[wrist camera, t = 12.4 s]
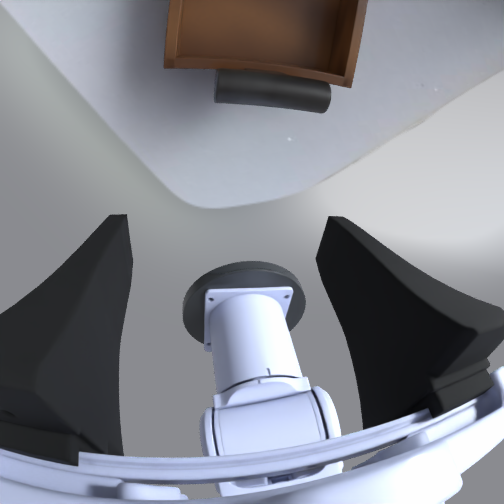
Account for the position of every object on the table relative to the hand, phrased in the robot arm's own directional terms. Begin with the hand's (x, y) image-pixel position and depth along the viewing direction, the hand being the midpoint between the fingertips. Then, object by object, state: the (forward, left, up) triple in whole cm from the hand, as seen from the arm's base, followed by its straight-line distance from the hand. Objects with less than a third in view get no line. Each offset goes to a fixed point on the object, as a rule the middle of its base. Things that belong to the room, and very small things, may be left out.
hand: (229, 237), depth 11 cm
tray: (+9, -2, -10) cm, 14 cm away
